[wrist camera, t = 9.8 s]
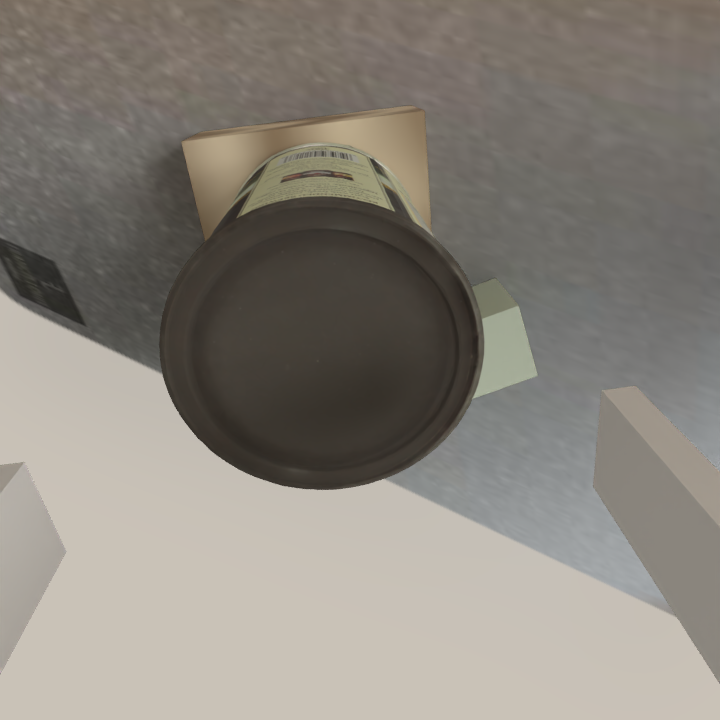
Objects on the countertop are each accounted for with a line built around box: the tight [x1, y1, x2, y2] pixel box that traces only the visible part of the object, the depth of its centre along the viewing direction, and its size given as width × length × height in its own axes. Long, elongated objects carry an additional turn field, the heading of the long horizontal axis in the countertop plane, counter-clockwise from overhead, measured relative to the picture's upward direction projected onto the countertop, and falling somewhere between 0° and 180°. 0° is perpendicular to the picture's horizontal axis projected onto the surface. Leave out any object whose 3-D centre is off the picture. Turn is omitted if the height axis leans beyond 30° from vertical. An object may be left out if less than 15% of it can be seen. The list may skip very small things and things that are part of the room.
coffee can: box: [159, 142, 485, 490], centre depth 25 cm, size 10×10×14 cm
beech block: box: [181, 105, 432, 241], centre depth 33 cm, size 12×12×5 cm
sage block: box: [472, 278, 538, 399], centre depth 37 cm, size 5×5×5 cm
